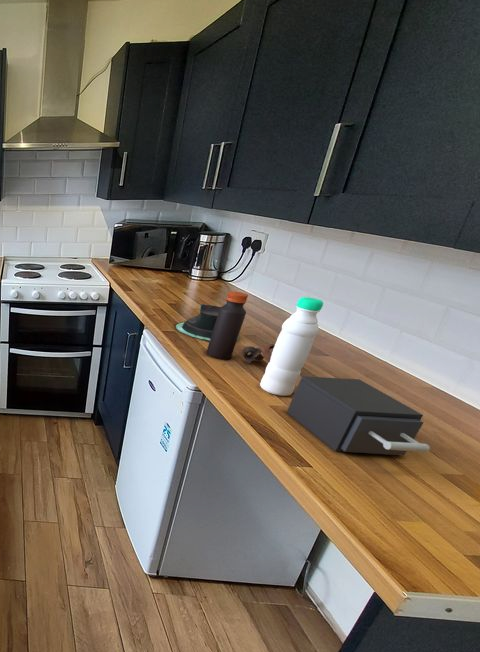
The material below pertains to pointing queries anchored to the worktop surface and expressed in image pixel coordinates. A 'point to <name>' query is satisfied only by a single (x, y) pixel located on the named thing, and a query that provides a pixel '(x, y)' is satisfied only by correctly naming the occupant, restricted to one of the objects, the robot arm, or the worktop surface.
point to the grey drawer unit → (341, 407)
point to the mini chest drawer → (383, 435)
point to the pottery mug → (257, 353)
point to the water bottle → (292, 348)
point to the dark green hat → (201, 323)
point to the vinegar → (227, 326)
